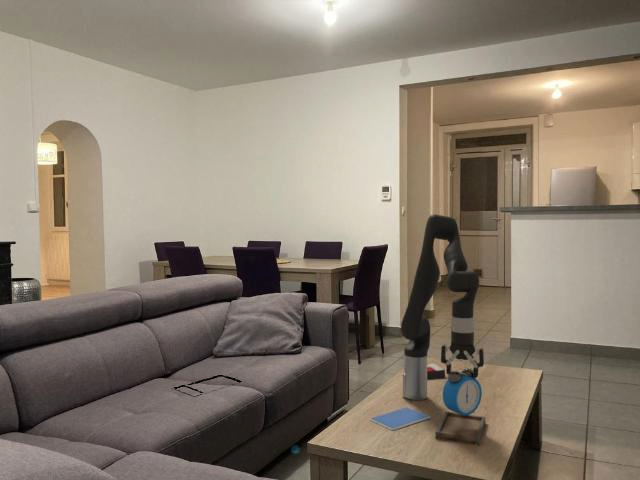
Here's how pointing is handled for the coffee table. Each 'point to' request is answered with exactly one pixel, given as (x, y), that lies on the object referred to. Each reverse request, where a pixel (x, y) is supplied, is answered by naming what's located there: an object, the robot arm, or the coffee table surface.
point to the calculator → (435, 371)
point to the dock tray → (460, 428)
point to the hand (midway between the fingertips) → (462, 376)
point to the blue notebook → (399, 418)
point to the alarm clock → (462, 392)
